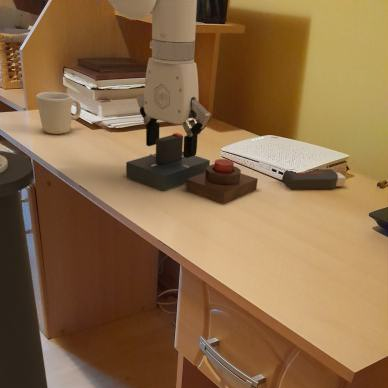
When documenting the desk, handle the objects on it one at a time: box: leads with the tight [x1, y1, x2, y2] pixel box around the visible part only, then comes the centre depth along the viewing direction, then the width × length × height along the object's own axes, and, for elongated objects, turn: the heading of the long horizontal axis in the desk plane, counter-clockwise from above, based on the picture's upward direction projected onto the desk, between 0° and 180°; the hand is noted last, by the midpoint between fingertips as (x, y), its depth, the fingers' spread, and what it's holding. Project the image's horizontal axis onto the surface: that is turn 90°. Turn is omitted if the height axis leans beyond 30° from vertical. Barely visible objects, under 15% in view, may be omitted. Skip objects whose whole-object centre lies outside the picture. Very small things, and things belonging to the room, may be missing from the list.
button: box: [214, 158, 235, 173], centre depth 98 cm, size 4×4×2 cm
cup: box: [35, 91, 82, 135], centre depth 123 cm, size 11×8×8 cm
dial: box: [155, 132, 184, 165], centre depth 102 cm, size 6×2×5 cm, turn 141°
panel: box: [125, 151, 211, 192], centre depth 104 cm, size 14×10×3 cm
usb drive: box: [281, 168, 347, 191], centre depth 105 cm, size 5×12×3 cm, turn 102°
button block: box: [185, 163, 259, 205], centre depth 99 cm, size 11×9×4 cm
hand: (170, 150), depth 102 cm, fingers open, 9 cm apart
